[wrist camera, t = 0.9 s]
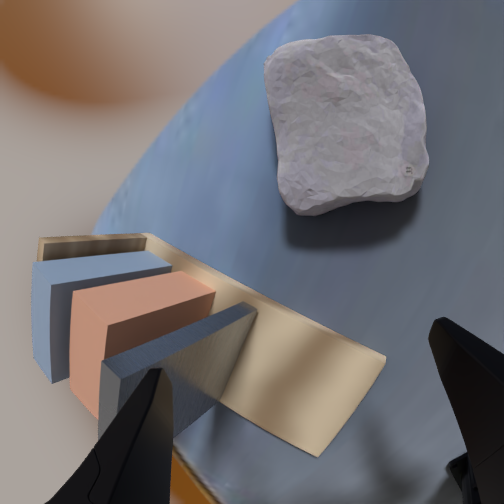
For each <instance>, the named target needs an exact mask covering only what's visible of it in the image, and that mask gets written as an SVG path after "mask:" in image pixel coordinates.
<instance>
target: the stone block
mask: <svg viewBox="0 0 504 504" xmlns="http://www.w3.org/2000/svg"><path fill="white" fill-rule="evenodd" d="M264 81H265V87H266V92H267V99H268V105H269V110H270V114H271V118H272V122H273V126H274V131H275V137H276V143H277V156H278V172H277V180H278V187H279V192H280V194H281V197H282V199H283V201H284V202H285V203H286V204H287V205H288V206H289V207H290V208H291V209H292V210H293V211H294V212H295V213H296V214H297V215H304V216H308V215H311V216H317V215H320V214H323V213H326V212H328V211H330V210H334V209H336V208H338V207H342V206H345V205H348V204H351V203H353V202H360V201H375V202H386V201H388V202H400V201H403V200H405V199H406V198H408V197H410V196H413V195H414V194H416V193H417V192H418V190H419V189H420V187H421V185H422V183H423V180H424V178H425V176H426V172H427V169H428V168H429V156H428V154H427V151H426V131H427V125H426V112H425V107H424V104H423V97H422V92H421V89H420V87H419V85H418V83H417V81H416V79H415V78H414V76H413V75H412V74H411V72H410V68H409V66H408V64H407V63H406V62H405V60H404V59H403V57H402V55H401V53H400V51H399V49H398V47H397V46H396V45H395V44H394V43H393V42H392V41H391V40H389V39H386V38H383V37H380V36H376V35H370V34H367V35H338V36H327V37H324V38H320V39H316V40H313V39H307V40H300V41H295V42H290V43H287V44H285V45H283V46H280V47H278V48H277V49H276V50H275V51H274V53H273V54H272V55H271V56H268V57H267V59H266V61H265V63H264Z"/></svg>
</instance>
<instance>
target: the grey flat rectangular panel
mask: <svg viewBox="0 0 504 504" xmlns="http://www.w3.org/2000/svg"><path fill="white" fill-rule="evenodd" d="M257 310H258V309H257V308H255V307H253V306H251V305H250V304H248V303H246V302H244V301H242V302H240V303H238V304H236V305H233V306H231V307H229V308H227V309H224V310H222V311H220V312H218V313H215V314H213V315H211V316H208V317H206V318H204V319H202V320H199V321H197V322H195V323H192V324H190V325H188V326H185V327H183V328H181V329H178V330H176V331H173V332H171V333H169V334H166V335H164V336H162V337H159V338H157V339H154V340H152V341H149V342H147V343H145V344H142V345H140V346H137V347H135V348H132V349H130V350H127V351H125V352H122V353H120V354H117V355H115V356H112V357H109V358H107V359H104V360H102V361H101V371H100V387H99V412H98V440H99V439H100V437H101V436H102V435H103V433H104V432H105V430H106V429H107V427H108V426H109V425H110V423H111V422H112V420H113V419H114V418H115V416H116V415H117V413H118V412H119V411H120V409H121V408H122V406H123V405H124V404H125V402H126V401H127V399H128V398H129V397H130V395H131V394H132V392H133V391H134V390H135V388H136V387H137V385H138V384H139V383H140V381H141V380H142V378H143V377H144V376H145V374H146V373H147V372H148V370H149V369H150V368H156V367H162V368H163V369H164V370H165V372H166V374H167V375H168V377H169V379H170V380H171V383H172V390H173V421H174V431H173V438H174V437H175V436H176V435H178V434H179V433H180V432H182V431H183V430H184V429H185V428H187V427H188V426H189V425H191V424H192V423H193V422H194V421H195V420H197V419H198V418H199V417H200V416H202V415H203V414H204V413H205V412H207V411H208V410H209V409H210V408H211V407H213V406H214V405H215V404H216V403H217V402H219V401H220V400H221V397H222V395H223V392H224V390H225V388H226V385H227V383H228V381H229V378H230V376H231V373H232V371H233V369H234V366H235V364H236V361H237V359H238V357H239V354H240V352H241V349H242V347H243V345H244V342H245V340H246V337H247V335H248V332H249V330H250V327H251V325H252V322H253V320H254V317H255V315H256V312H257Z"/></svg>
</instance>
